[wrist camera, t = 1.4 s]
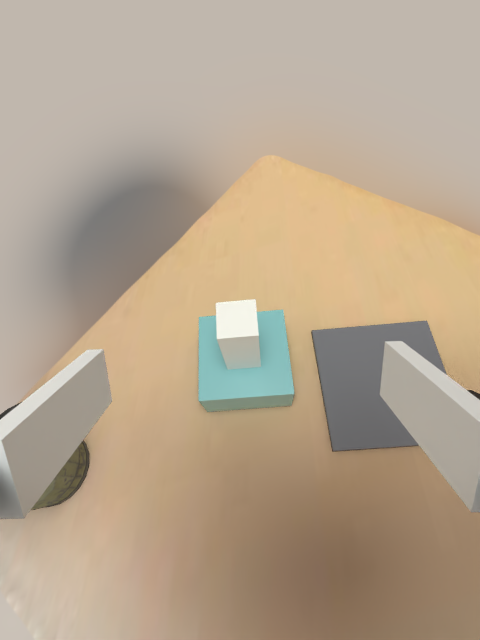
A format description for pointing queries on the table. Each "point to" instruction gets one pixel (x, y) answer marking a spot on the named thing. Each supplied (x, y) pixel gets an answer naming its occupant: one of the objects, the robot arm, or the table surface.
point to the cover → (244, 358)
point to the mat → (365, 382)
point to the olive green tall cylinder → (66, 479)
